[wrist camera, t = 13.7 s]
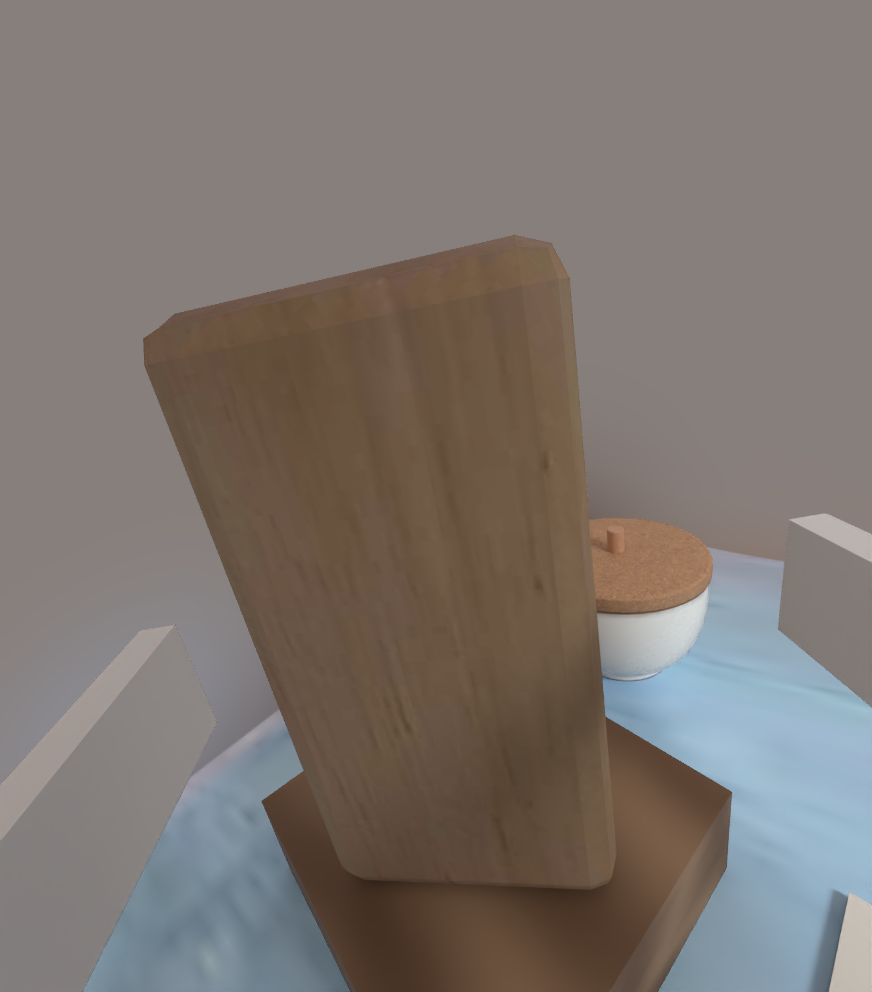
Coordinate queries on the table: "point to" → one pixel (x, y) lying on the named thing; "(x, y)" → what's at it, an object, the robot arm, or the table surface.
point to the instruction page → (854, 949)
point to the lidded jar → (647, 594)
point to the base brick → (527, 896)
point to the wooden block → (413, 553)
